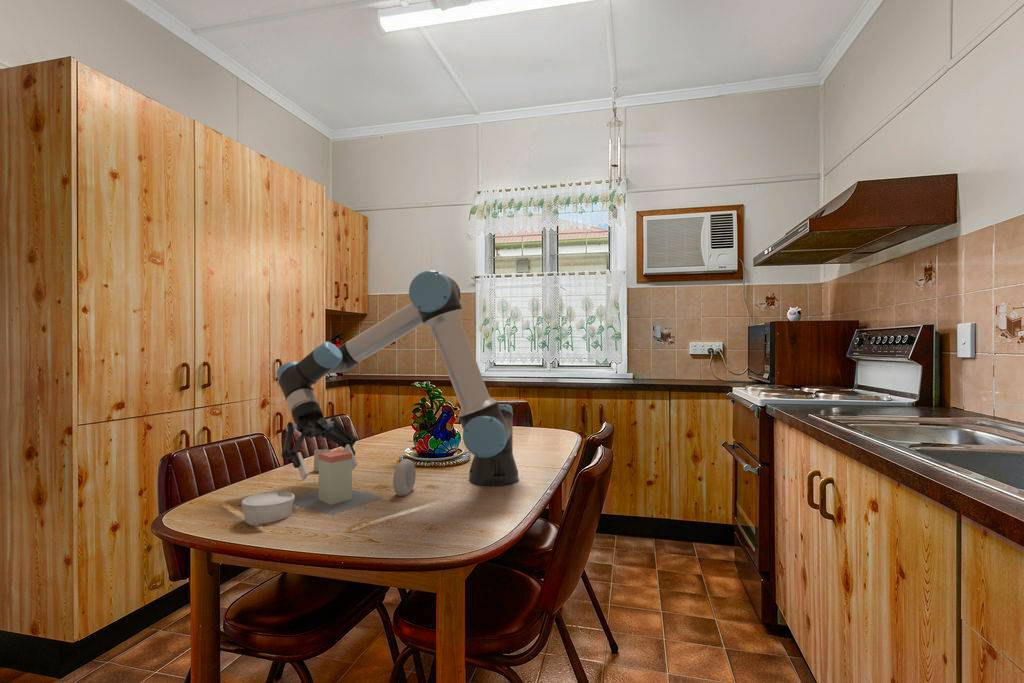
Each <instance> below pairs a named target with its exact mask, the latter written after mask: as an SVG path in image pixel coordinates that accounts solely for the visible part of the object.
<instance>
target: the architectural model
mask: <svg viewBox="0 0 1024 683" xmlns="http://www.w3.org/2000/svg"><path fill="white" fill-rule="evenodd" d="M331 451H332V450H331V449H327V448H325V449H314V450H313V472H318V471H319V453H325V452H331ZM315 470H316V471H315Z"/></svg>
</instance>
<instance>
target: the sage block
mask: <svg viewBox="0 0 1024 683" xmlns="http://www.w3.org/2000/svg"><path fill="white" fill-rule="evenodd" d="M343 450H344V449H343ZM343 450H342V449H337V450H331V452H325V453H319V472H318V490H319V500H321V501H323V502H325V503H327V504H330V505H331V504H335V503H339V502H343V501H347V500H351V499H352V490H353V470H352V453H350V452H346V451H343Z"/></svg>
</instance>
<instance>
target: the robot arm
mask: <svg viewBox="0 0 1024 683" xmlns="http://www.w3.org/2000/svg"><path fill="white" fill-rule="evenodd" d="M408 288H409V289H408V297H409V300H410V303H409V304H407V305H405V306H403V307H402V308H400V309H399V310H397V311H394V312H393V313H392V314H390V315H389V316H386V317H385V318H384V319H382V320H380V321H379V322H377V323H375V324H373V325H372V326H370V327H369V328H367V329H366V330H364V331H362V332H361V333H358V334H357V335H355V336H354V337H353V338H351V339H349V340H347V341H345V343H343V344H341V345H339V346H338V347H337V346H336V344H334V343H332V342H330V341H324V342H322V343H321V344H319V345H318V346H315V348H314V349H313V350H312V351H311V352H309V354H307V355H306V356H305V357H303V359H301V360H300V361H299V362H298V361H294V360H293V361H292V360H291V361H288V362H287V363H283V364H282V365H280V366H279V367H278V369H277V371H276V377H277V380H278V386H279V387H280V389H281V391H282V393H283V396H284V399H285V401H286V404H287V406H288V409H289V411H290V414H291V416H292V419H293V422H294V423H293V422H291V421H289V422H287V424H286V426H285V428H284V430H285V438H284V442H283V448H282V451H281V456H280V457H281V458H283V459H285V458H287V459H288V460H289V461H291V462H292V465H293V467H294V469H297V470H298V473H299V474H300V478H301V480H302V481H305V480H306V479H307V477H308V476H309V474H310V473H309V471H308V468H307V464H306V463H305V460H304V458H303V455H302V453H301V452H300V451H299V449H300V447H301V445H302V443H303V442H304V440H305V438H308V439H312V438H318V437H320V438H321V437H322V438H325V439H328V440H330V441H332V442H333V443H335V444H336V445H339V446H340V447H341V448H343V451H346V452H350V453H352V471H353V470H355V468H356V467H357V466H358V464H359V463H358V461H357V458H356V457H355V456H356V451H355V448H354V446H355V444H356V443H357V440H358V439H357V437H355V436H354V435H353V434H352V433H351V432H349V431H348V430H347V429H346V428H345V427H344V426H343V425H342V424H341V423H339V421H338V419H337V418H336V417H334V416H332V417H331V419H328V420H326V419H325V418H324V415H323V411H322V409H321V407H320V404H319V402H318V399H317V397H316V395H315V393H314V391H313V388H312V386H313V385H314V384H316V383H317V382H318V381H320V379H322V378H323V377H325V376H327V375H330V374H331V375H332V374H338V373H343V374H344V373H346V372H349V371H351V370H353V369H354V368H355V367H356V365H358V364H359V363H361V362H362V361H364V360H366V359H367V358H369V357H370V356H372V355H374V354H375V353H377V352H379V351H380V350H382V349H384V348H385V347H388V346H389V345H391V344H392V343H394V342H396V341H397V340H399V339H401V338H402V337H404V336H406V335H408V334H409V333H410V332H412V331H414V330H415V329H417V328H419V327H420V326H422V325H424V326H425V327H428V328H429V329H431V331H432V334H433V337H434V339H435V342H436V344H437V348H438V350H439V353H440V355H441V359H442V361H443V364H444V366H445V369H446V371H447V374H448V377H449V380H450V382H451V385H452V386H453V387H452V388H453V390H454V393H455V395H456V398H457V401H458V404H459V406H460V410H459V413H458V415H457V416H458V419H459V422H460V424H461V427H462V430H463V431H462V440H463V444H464V446H465V448H466V450H467V451H468V452H469V453H471V454H472V455H473V459H472V462H471V465H470V467H469V468H470V469H469V471H468V480H469V481H470V482H471V483H473V484H477V485H481V486H491V487H492V486H494V487H495V486H506V485H510V484H513V483H515V482H517V481H518V480H519V469H518V468H517V464H516V460H515V456H514V454H513V452H514V451H513V444H514V443H513V442H514V441H513V439H514V438H513V423H514V422H513V420H514V419H513V416H514V412H513V406H512V405H510V404H499V402H498V400H496V399H494V398H492V397H491V396H490V394H489V391H488V389H487V387H486V384H485V381H484V378H483V376H482V373H481V371H480V367H479V365H478V362H477V359H476V357H475V354H474V351H473V349H472V346H471V344H470V341H469V339H468V336H467V334H466V331H465V328H464V326H463V323H462V322H463V321H462V320H461V316H462V314H463V308H462V305H461V302H460V301H461V297H462V296H461V294H462V292H461V289H460V287H459V285H458V283H457V282H456V281H455V280H454V279H453V278H451V277H449V276H447V275H446V274H445V273H443V272H441V271H438V270H433V269H429V270H424V271H421V272H420V273H418V274H417V275H415V277H414V278H413V279H412V280H411V281H410V285H409V287H408ZM295 431H297V432H299V433H300V436H299V437H298V439H297V441H296V443H295V445H294V447H293V448H292V449H291V445H292V439H293V435H294V433H295ZM298 451H299V452H298Z"/></svg>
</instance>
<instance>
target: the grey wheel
mask: <svg viewBox="0 0 1024 683" xmlns="http://www.w3.org/2000/svg"><path fill="white" fill-rule="evenodd" d="M416 477H417V474H416V466H415V463H414V462H413V461H412V460H410V459H407V458H406V459H402V460H401V461H399V462H398V463H397V465H396V467H395V470H394V471H393V478H392V486H393V491H394V493H395V494H396V496H400V497H404V496H407V495H409V494H411V492H412V491H413V489H414V486H415V482H416Z"/></svg>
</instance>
